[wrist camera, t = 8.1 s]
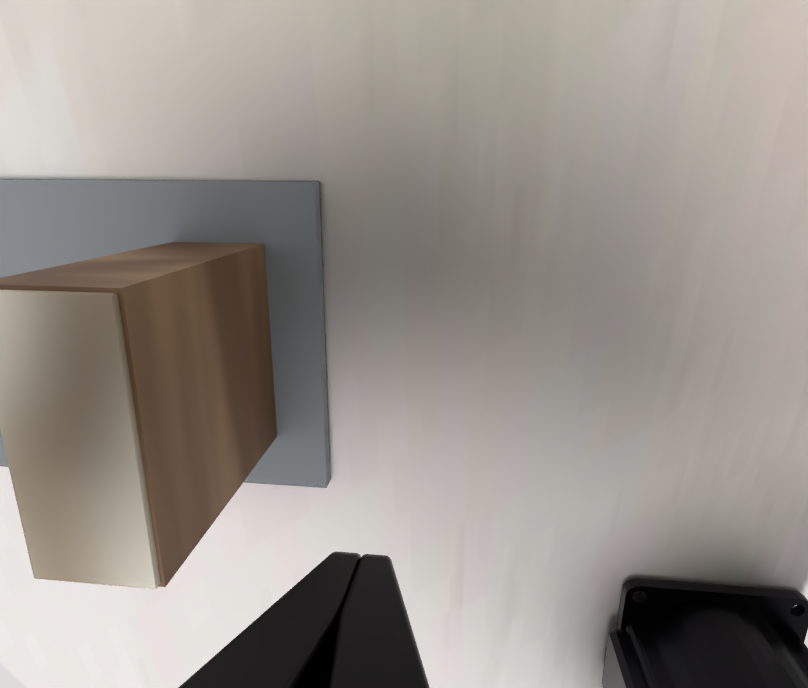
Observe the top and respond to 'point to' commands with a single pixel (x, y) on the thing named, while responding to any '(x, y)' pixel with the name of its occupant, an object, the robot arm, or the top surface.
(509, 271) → the top surface
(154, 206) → the mat
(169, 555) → the walnut slab
